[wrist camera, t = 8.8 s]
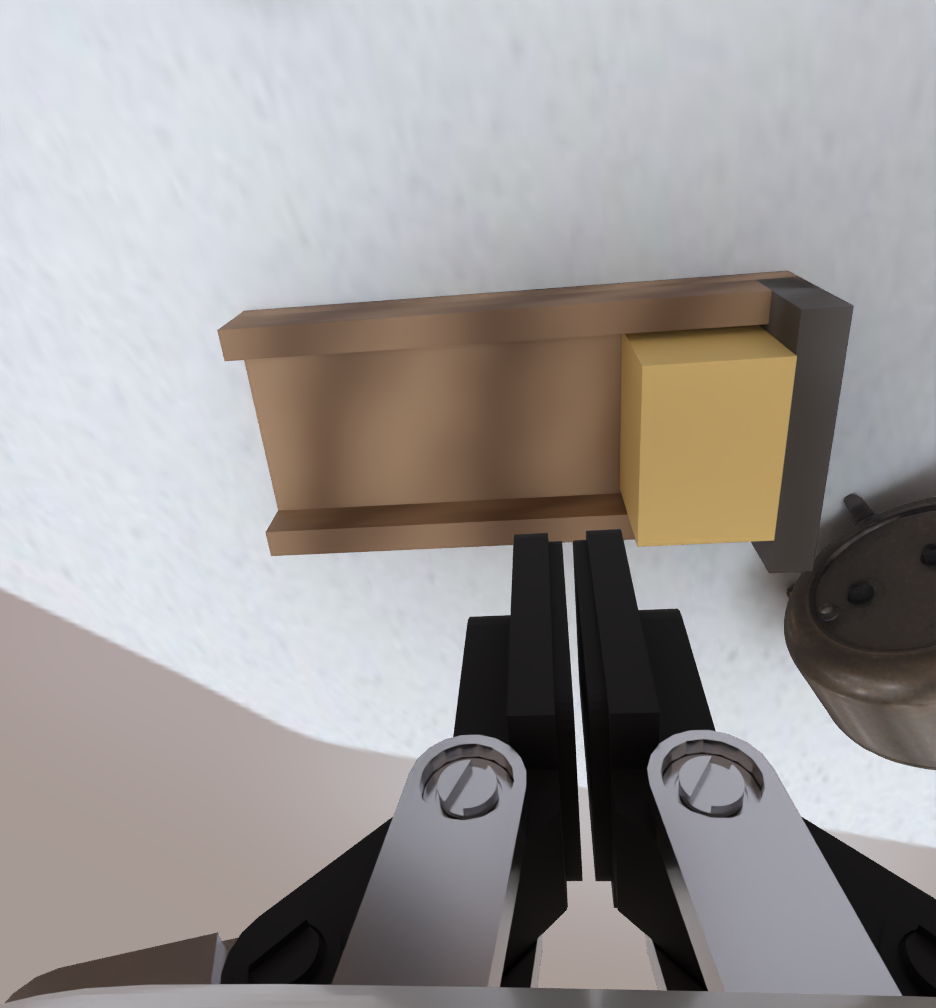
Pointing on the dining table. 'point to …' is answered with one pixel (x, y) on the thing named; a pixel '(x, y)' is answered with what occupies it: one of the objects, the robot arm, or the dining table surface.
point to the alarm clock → (873, 631)
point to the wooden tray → (506, 410)
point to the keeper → (704, 433)
